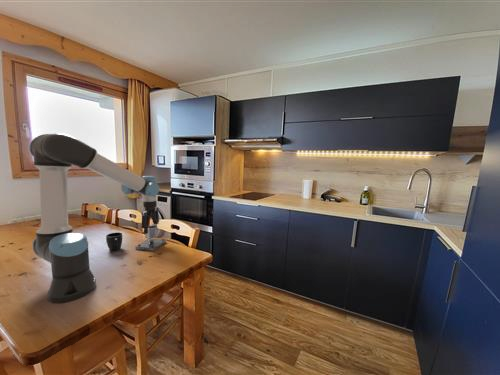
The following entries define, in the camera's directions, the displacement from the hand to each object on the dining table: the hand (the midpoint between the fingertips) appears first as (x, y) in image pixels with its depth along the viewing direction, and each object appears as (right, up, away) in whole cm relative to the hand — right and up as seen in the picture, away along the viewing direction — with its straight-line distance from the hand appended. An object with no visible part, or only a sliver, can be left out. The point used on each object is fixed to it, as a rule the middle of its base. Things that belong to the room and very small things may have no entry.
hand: (151, 235), depth 132 cm
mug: (-18, -7, -8) cm, 21 cm away
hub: (0, 0, 0) cm, 0 cm away
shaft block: (0, -7, +1) cm, 7 cm away
